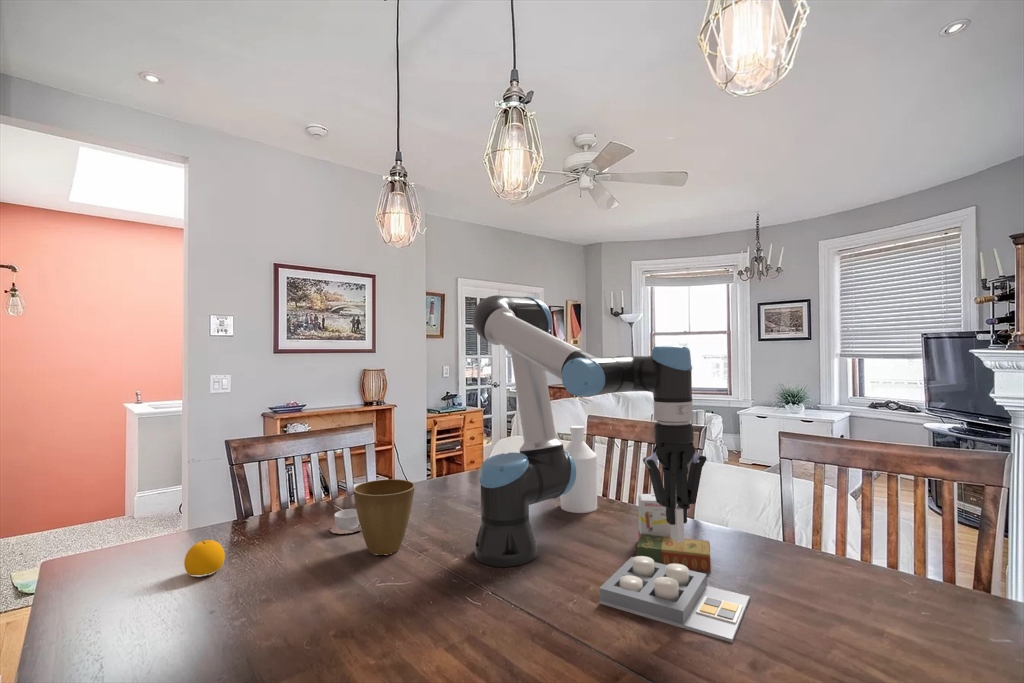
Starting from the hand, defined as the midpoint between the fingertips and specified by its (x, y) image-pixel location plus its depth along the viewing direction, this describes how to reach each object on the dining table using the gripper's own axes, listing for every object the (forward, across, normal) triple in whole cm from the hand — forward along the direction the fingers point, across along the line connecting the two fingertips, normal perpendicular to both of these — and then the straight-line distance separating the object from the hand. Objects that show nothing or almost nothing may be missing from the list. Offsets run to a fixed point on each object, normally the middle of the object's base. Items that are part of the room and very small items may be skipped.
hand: (677, 539), depth 100 cm
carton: (+11, +7, +15) cm, 20 cm away
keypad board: (+11, -2, -2) cm, 11 cm away
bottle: (+11, -2, +57) cm, 58 cm away
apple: (+10, -99, +32) cm, 105 cm away
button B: (+8, -5, +5) cm, 11 cm away
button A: (+10, -10, 0) cm, 14 cm away
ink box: (+11, +8, +24) cm, 28 cm away
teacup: (+10, -71, +54) cm, 90 cm away
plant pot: (+10, -60, +36) cm, 71 cm away
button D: (+8, 0, 0) cm, 8 cm away
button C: (+8, -5, -5) cm, 11 cm away
